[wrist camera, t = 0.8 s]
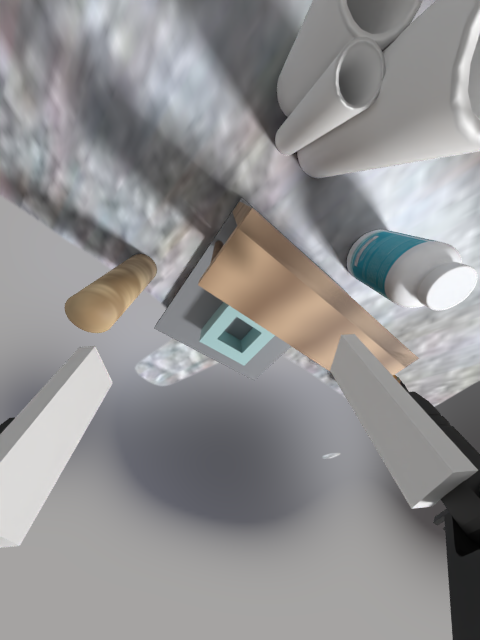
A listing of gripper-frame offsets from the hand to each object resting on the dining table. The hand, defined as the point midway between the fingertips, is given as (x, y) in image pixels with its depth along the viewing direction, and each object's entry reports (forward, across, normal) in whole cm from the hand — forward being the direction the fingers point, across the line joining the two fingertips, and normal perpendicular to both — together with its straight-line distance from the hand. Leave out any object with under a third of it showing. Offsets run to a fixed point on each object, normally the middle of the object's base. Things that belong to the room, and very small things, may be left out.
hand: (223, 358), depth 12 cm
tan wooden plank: (+22, +9, -3) cm, 24 cm away
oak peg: (+22, -12, -2) cm, 25 cm away
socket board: (+22, +4, -9) cm, 24 cm away
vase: (+22, +10, +14) cm, 28 cm away
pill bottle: (+22, +22, 0) cm, 31 cm away
